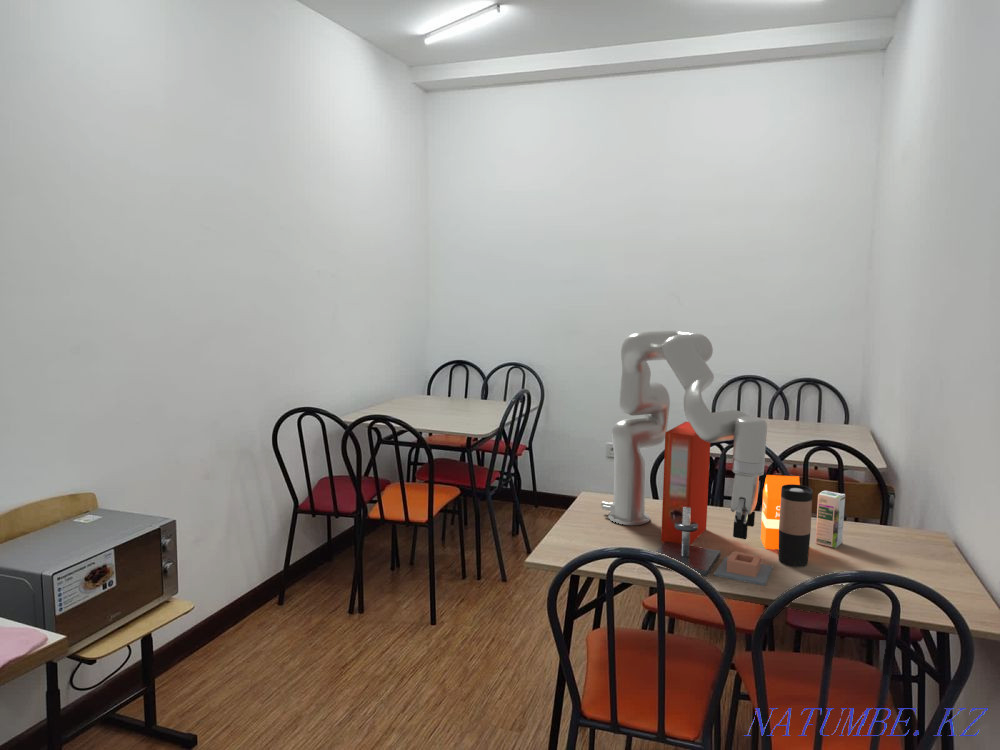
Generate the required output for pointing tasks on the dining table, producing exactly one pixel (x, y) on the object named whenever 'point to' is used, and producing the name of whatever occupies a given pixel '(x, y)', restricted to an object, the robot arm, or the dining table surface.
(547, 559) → the dining table surface
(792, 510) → the travel mug
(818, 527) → the syrup box
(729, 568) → the collar
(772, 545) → the orange juice
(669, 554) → the stand
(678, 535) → the file binder
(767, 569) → the mat
